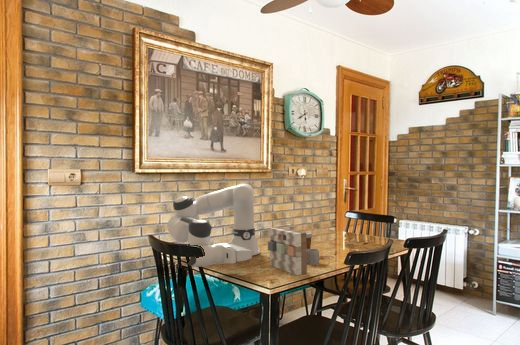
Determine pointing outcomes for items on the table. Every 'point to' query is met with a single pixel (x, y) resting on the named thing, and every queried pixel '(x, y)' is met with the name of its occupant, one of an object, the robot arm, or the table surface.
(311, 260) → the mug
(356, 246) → the table surface
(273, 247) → the charcoal key
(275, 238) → the keypad panel
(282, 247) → the sage key
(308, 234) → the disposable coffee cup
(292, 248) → the terracotta key
